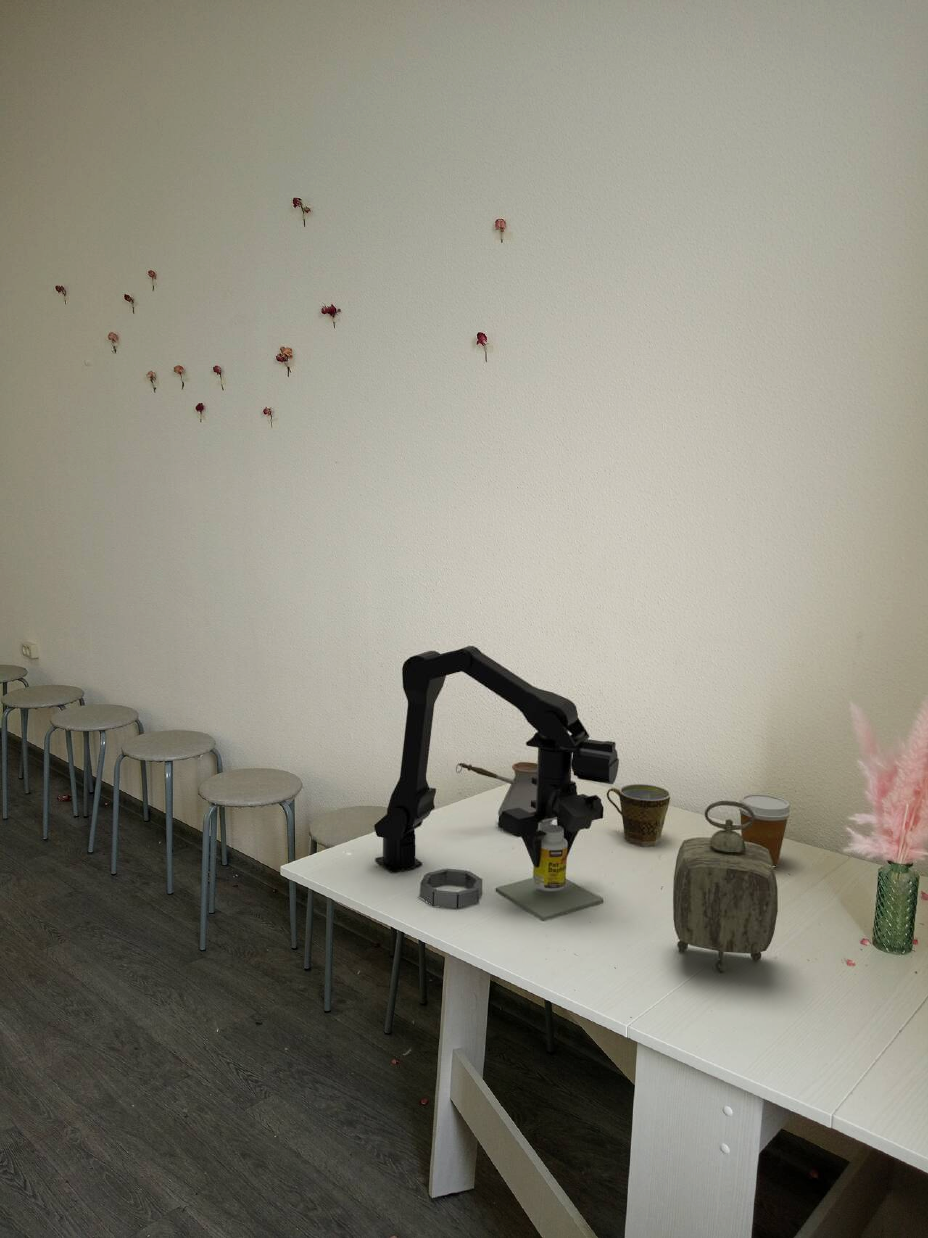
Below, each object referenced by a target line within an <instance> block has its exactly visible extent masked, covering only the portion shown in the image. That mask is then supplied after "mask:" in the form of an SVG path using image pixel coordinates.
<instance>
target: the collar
mask: <svg viewBox="0 0 928 1238" xmlns="http://www.w3.org/2000/svg"><path fill="white" fill-rule="evenodd" d="M446 885H449V886H456V887H465V888H467V889H464V890H460V891H459V890H458V891H450V890H449V891H448V890H441V889H439V890H438V889H436V888H439V887H443V886H446ZM419 886H420V887H419V897H421V898H420V899H422V898H423V899H424V900H425V901H424V900H423V899H422V900H423V901H424V902H426V901H427V902H428V904H429V903H430V904H431V905H432V906H431V905H430V904H429V905H430V906H431V907H434V906H439V907H438V908H441V907H444V908H443V909H451V910H460V909H464V908H467V907H471V906H475V905H477V904H479V902H480V900H481V898H482V895H483V878H482V877H480V876H478V875H476V874H475V873H473V872H471V871H470V870H466V869H465V870H464V869H463V870H462V869H453V868H441V869H438V870H433V871H430V872H426V873H425V874H424V875H423V877H422V879H421V881H420V883H419ZM427 902H426V903H427Z"/></svg>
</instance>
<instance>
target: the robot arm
mask: <svg viewBox="0 0 928 1238" xmlns="http://www.w3.org/2000/svg"><path fill="white" fill-rule="evenodd" d="M401 673H402V674H401V675H402V676H401V677H402V679H401V680H402V689H403V692H404V695H405V698H406V700H407V709H406V710H407V711H406V718H405V719H406V720H405V728H404V737H403V743H402V744H403V747H402V755H401V762H400V773H399V778H398V781H397V783H396V784H395V787H394V788H393V791H392V793H391V795H390V798H389V802H388V805H387V808H386V809H387V810H386V814H385V815H384V816H383V817H382V818H380V819H379V821H377V822H376V823H375V824H374V825H373V828H374V831H375V834H376V836H377V837H379V838H382V856H378V857H375V859H374V860H375V862H377V863H378V864H379V865H380V866H382V867H383V868H385V869H386V870H387V871H389V872H390V873H397V872H402V871H406V870H408V869H414V868H417V867H421V866H423V862H422V861H420V860H419V859H417V858H416V849H417V848H416V846H417V845H416V833H415V830H416V829H418V828H419V827H421V826H422V825H423V824H422V823H423V821H424V820H425V819H427V818H428V817H429V816H430V814H431V812H432V811H434V809H435V808H436V807H435V796H436V794H437V788H436V787H430V785H429V784H428V780H427V772H428V764H429V753H430V746H431V736H432V728H433V722H434V721H433V719H434V712H435V704H436V701H437V699H438V697H439V695H440V693H441V691H442V689H443V687H444V685H445V681H446V677H447V676H449V675H453V674H457V673H464V674H465V675H466V676H468V677H470V678H471V679H473V680H474V681H476V682H477V683H479V684H481V685H482V686H484V687H485V688H486V689H488V690H490V691H491V692H492V693H494V694H495V695H497V696H498V697H499V698H501V699H503V700H504V701H505V702H508V703H509V704H511V705H512V706H513V707H515V708H516V709H517V710H518V711H519V712H520V713H521V714H522V715H523V717H524V719H525V720H526V721H527V723H528V724H529V725H531V727H533V728H534V729H535V730H536V732H535V733H534V734H533V736H532V737H531V738H530V739H528V740H527V741H526V742H525V746H527V747H533V748H537V777H532V784H535V785H536V800H533V801H531V807H533V808H535V809H536V810H535V811H536V812H531V813H529V812H527V811H525V810H523V809H521V808H514V809H509V810H505V811H502V812H501V813H500V814H499V815H498V824H497V827H498V828H499V829H502V830H504V831H506V832H508V833H509V834H512V835H513V836H514V837H516V838H521V839H522V842H523V843H524V846H525V849H526V850H527V853H528V856H529V858H530V860H531V863H532V865H533V867H534V866H535V867H539V864H540V857H541V841H542V839H543V838H544V836H545V835H546V834H547V833H545V832H543V831H541V826H542V822H546V821H550V820H552V821H554V820H556V825H558V826H561V827H562V828H563V829H564V836H563V838H565V839H566V840H567V843H568V846H567V857H568V856H569V854H570V851H571V849H572V846H573V844H574V841H575V840H576V838H577V836H578V833H579V832H580V831H581V830H589V829H590V828H591V826H592V823H593V822H594V821H596V820H600V819H604V809H605V807H604V806H603V803H602V799H601V798H600V797H599V796H598V795H597V794H594V795H587V794H584V793H581V794H578V787H577V783H576V782H575V781H573V780H572V773H573V776H576V777H577V779H578V780H582V781H588V782H594V783H600V784H607V785H614V783H615V781H616V779H617V777H618V771H619V763H620V759H619V758H618V757H619V756H618V751H617V749H616V742H615V741H611V740H607V741H606V740H604V741H603V740H595V739H589V738H590V734H589V732H588V731H587V730H586V728H585V726H584V725H583V723H582V721H581V720H580V718H579V713H578V708H577V706H576V704H575V702H573V701H572V700H570V699H569V698H566V697H564V696H562V695H559V694H558V693H555V692H552V691H549V690H546V689H540V688H538V687H536V686H534V685H532V684H530V683H529V682H527V680H525V679H522V677H520V676H518V675H517V674H515V673H514V672H512V670H509V669H508V668H506V667H504V666H503V665H502V664H500V663H498V662H496V661H495V660H494V659H493V658H490V657H489V656H488V655H486V654H485V653H483V652H482V651H481V650H480V649H479V648H478V647H476V646H473V645H467V646H465V647H463V648H459V649H456V650H455V649H454V650H452V651H447V652H443V653H440V652H438V651H436V650H427V651H424V652H422V653H419V654H416V655H412V656H410V657H408V659H406V660H405V661H404V662H403V664H402V668H401Z"/></svg>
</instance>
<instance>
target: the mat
mask: <svg viewBox="0 0 928 1238" xmlns="http://www.w3.org/2000/svg"><path fill="white" fill-rule="evenodd" d="M495 892H496V893H498V894H500V895H502V896H503V897H504V898H506V899H507V900H510V901H511V902H512V903H514V904H516V905H517V906H519V907H521V908H522V909H524V911H527V912H528V913H530V914H532V915H533V916H535V917H537V919H540V920H541V921H543V922H544V921H547V920H551V919H554V918H556V917H560V916H564V915H567V914H571V913H573V912H576V911H580V910H583V909H587V908H591V907H593V906H597V905H601V904H603V903H604V898H602V897H600V896H599V895H597V894H595V893H593V892H592V891H590V890H588V889H587V888H584V887H583V886H580V885H578V884H577V883H575V882H573V881H571V880H570V879H568V878H566V881H565V886H564V887H563V888H562V889H561V890H558V891H544V890H540V889H538V888H537V887H535V886H534V884H533V877H531V878H526V879H522V880H520V881H516V882H512V883H509V884H505V885H501V886H496V887H495Z"/></svg>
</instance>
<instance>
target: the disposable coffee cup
mask: <svg viewBox="0 0 928 1238" xmlns="http://www.w3.org/2000/svg"><path fill="white" fill-rule="evenodd" d="M739 803H742V804H744V805H746V806H748V807H749V808H750V809H751V810H752V811H753V813H754V816H755V820H754V822H753V824H752V825H751V826H749V827H748V828H745V829H741V830H740V832H741V834H740V835H741V836H742V838H743V840H744V841H745V842H750V843H754V844H757V845H760V846H762V847H764V848H766V849H768V851H769V853H770V856H771V859H772V863H773V866H776V865H777V864H779V860H780V855H781V851H782V850H781V849H782V845H783V841H784V837H785V832H786V829H787V823H788V820H789V817H790V815H791V813H792V810H791V808H790V803H789V801H787V800H785V799H783V798H780V797H778V796H774V795H770V794H763V793H762V794H761V793H750V794H745V795H742V796H741V797H740V801H739ZM737 808H738V810H739V814H740V825H743V824H747V823H749V822H750V821H751V819H752V818H751V815H750V813H749V812H747V811H746V810H745V809H743V808H740V807H737ZM777 866H778V865H777Z"/></svg>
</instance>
